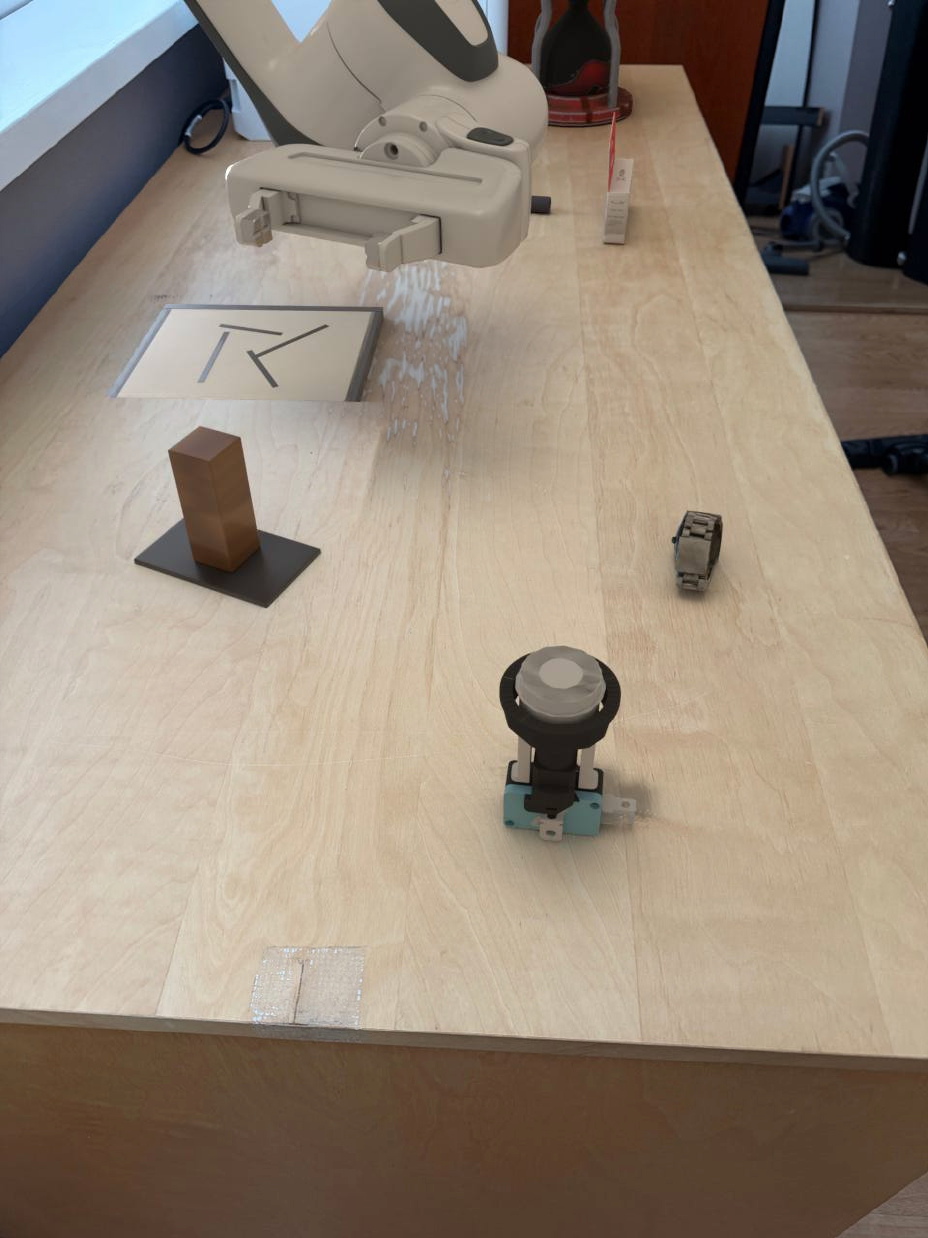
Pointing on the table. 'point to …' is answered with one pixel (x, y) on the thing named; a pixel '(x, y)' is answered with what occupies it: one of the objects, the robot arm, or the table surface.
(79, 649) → the table surface
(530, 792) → the push button
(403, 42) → the robot arm
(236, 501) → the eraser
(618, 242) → the ink cartridge box
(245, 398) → the whiteboard
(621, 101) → the hourglass
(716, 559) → the wristwatch
